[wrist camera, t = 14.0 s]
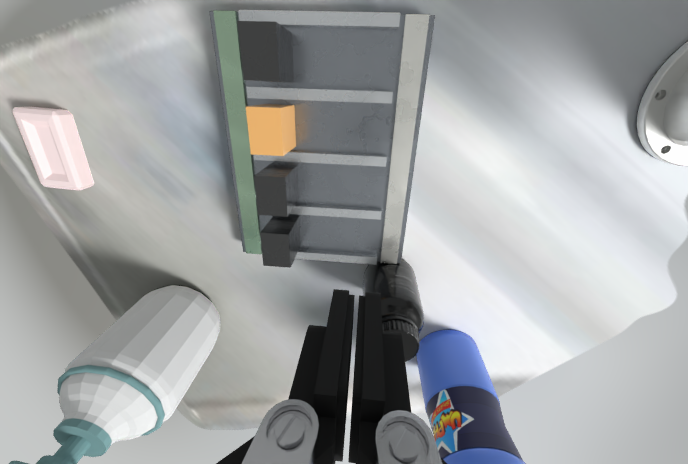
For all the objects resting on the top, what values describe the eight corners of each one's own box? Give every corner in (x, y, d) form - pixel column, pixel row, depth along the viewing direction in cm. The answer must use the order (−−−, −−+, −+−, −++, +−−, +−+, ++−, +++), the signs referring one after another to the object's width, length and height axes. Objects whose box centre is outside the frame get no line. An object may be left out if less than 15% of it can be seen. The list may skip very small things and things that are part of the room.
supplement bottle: (353, 271, 40) (346, 339, 29) (395, 245, 37) (404, 308, 27) (383, 304, 42) (387, 379, 31) (424, 281, 39) (444, 353, 29)
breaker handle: (294, 105, 29) (280, 108, 25) (296, 146, 31) (283, 156, 26) (264, 103, 29) (245, 106, 25) (268, 145, 31) (250, 154, 26)
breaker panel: (430, 20, 27) (448, -1, 20) (399, 254, 38) (404, 287, 32) (219, 16, 28) (176, -5, 22) (249, 244, 39) (225, 273, 33)
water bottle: (403, 356, 46) (432, 611, 23) (440, 319, 42) (519, 582, 20) (451, 380, 47) (522, 642, 25) (491, 346, 43) (619, 621, 21)
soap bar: (74, 110, 34) (53, 111, 31) (97, 185, 38) (81, 191, 35) (30, 105, 34) (6, 107, 32) (58, 181, 38) (39, 187, 36)
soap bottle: (148, 266, 42) (-283, 610, 14) (232, 290, 43) (-29, 664, 15) (150, 327, 48) (-159, 661, 20) (224, 347, 48) (24, 698, 20)
